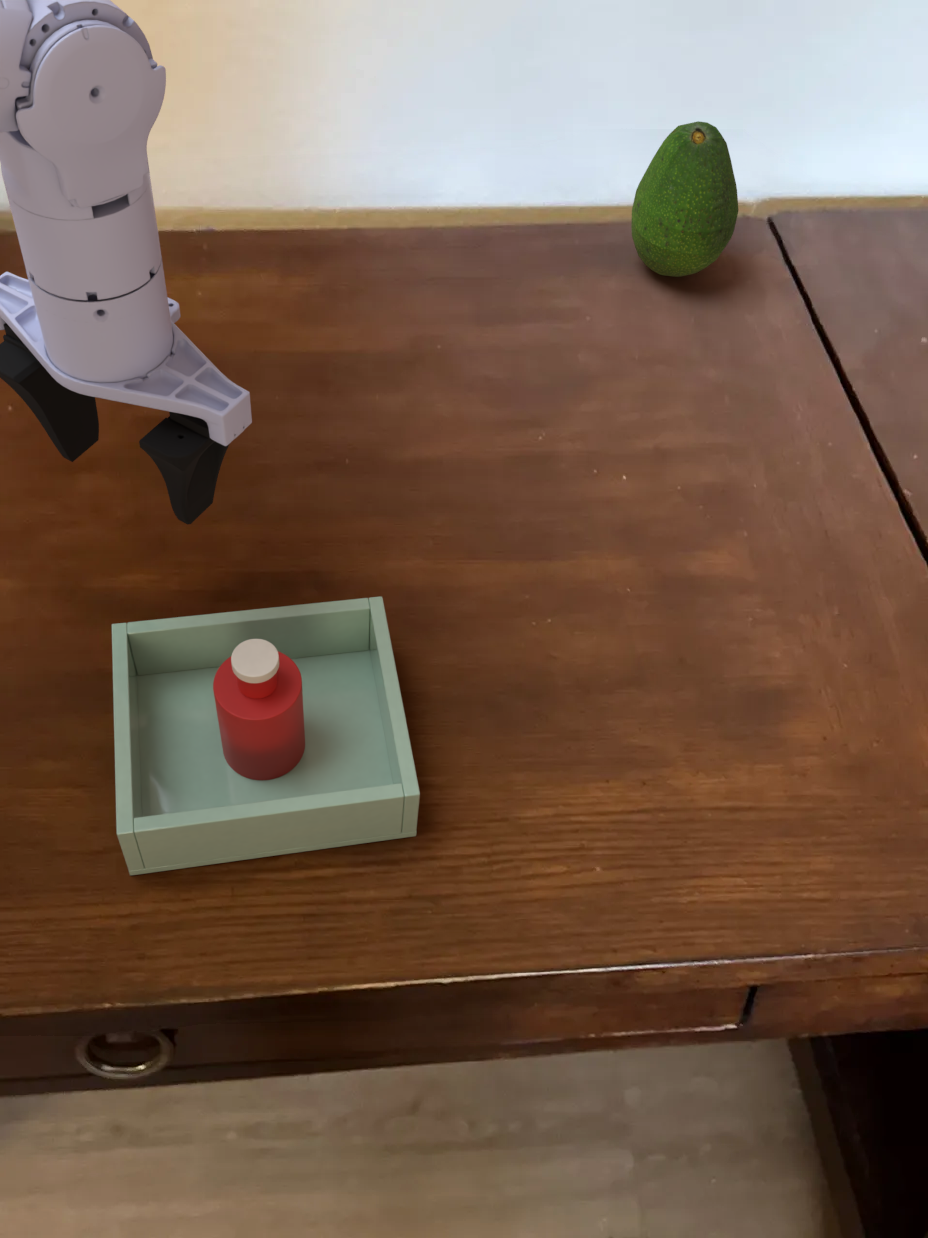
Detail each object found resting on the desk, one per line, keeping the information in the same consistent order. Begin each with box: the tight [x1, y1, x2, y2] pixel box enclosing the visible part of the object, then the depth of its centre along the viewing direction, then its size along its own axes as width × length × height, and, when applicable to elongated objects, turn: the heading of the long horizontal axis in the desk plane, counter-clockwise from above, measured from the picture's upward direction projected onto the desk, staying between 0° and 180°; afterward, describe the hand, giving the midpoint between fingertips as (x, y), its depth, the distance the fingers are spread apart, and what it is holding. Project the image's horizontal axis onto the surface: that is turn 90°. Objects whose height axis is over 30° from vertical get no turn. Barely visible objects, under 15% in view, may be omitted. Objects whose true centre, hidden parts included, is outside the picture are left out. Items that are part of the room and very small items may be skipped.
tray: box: [111, 595, 421, 876], centre depth 64 cm, size 15×13×4 cm
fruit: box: [630, 120, 740, 278], centre depth 90 cm, size 8×8×12 cm
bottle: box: [213, 639, 305, 780], centre depth 62 cm, size 4×4×8 cm
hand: (137, 479), depth 63 cm, fingers open, 7 cm apart
